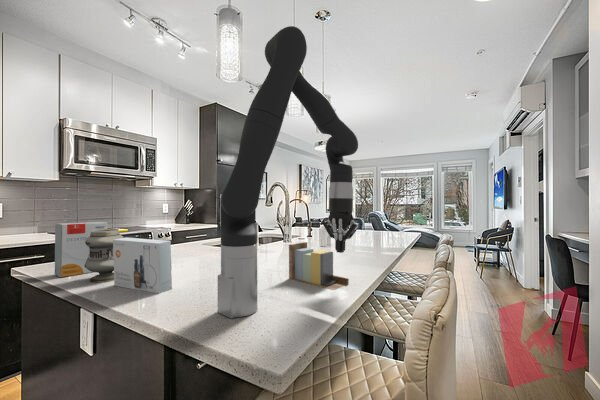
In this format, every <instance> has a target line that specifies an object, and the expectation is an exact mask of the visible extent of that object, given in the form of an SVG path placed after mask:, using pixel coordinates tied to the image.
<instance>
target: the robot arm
mask: <svg viewBox="0 0 600 400" xmlns="http://www.w3.org/2000/svg"><path fill="white" fill-rule="evenodd" d="M307 53H308V42H307V39H306V36H305V34H304V32H303V31H302V30H301V29H300V28H298V27H297V26H294V25H293V26H292V25H291V26H290V25H289V26H285V27H283V28H282V29H280V30H278V31H277V32H276V34H274V35H273V36H272V37H271V38H270V39H269V40H268V41H267V43H266V44H265V47H264V58H265V60H266V62H267V63H268V65H269V66H270V68H269V71H268V73H267V75H266V77H265V79H264V81H262V84H261V86H260V87H259V88H258V91H257V92H256V94H255V96H254V97H253V99H252V101H251V104H250V106H249V109H248V111H247V115H246V118H245V121H244V124H243V128H242V132H241V135H240V136H241V137H240V142H239V148H238V155H237V159H236V162H235V164H234V167H233V169H232V172H231V174H230V177H229V179H228V181H227V183H226V185H225V187H224V188H223V190H222V192H221V194H220V207H219V208H220V274H217V313H218V314H220V315H223V316H225V317H227V318H229V319H233V318H234V319H235V318H240V317H241V318H242V317H246V316H251V315H252V314H255V313H256V312H257V311H258V233H257V220H256V218H257V217H256V213H257V212H256V209H257V207H258V205H259V201H260V195H261V189H262V184H263V179H264V175H265V171H266V169H267V165H268V163H269V161H270V158H271V157H272V154H273V151H274V148H275V147H276V144H277V141H278V137H279V135H280V131H281V128H282V125H283V123H284V119H285V114H286V112H287V108H288V105H289V102H290V99H291V94H292V93H293V95H294V96H295V98H296V99H298V101H299V103H300V104H301V105H302V106H303V108H304V109H305V110H306V112H307V113H308V115H309V116H310V118H311V120H312V121H313V123H314V125H315V126H316V128H317V129H318V131H319V132H320V133H321V134H322V135H329V136H330V137H329V138H328V139H327V140H326V143H325V154H326V159H327V163H328V167H329V188H328V211H329V215H328V219H326V221H323V222H322V226H323V227H324V229H325V231H326V232H327V234H328V236H329V238H331V239H334V241H335V245H334V246H335V247H334V248H335V251H336V253H340V254H341V253H344V252H345V251H346V240H350V239H352V237H353V236H354V234H356V232H357V231H358V229H359V228H360V227H361V224H360V223H357V222H356V221H355V220H354V216H353V211H354V187H353V167H352V165H351V164H349V163H346V162H345V161H344V158H343V157H347V156H352V155H354V154H355V153H357V151H358V150H359V149H358V148H359V141H358V137H357V135H356V134H355V132H354V131H353V130H352V129H351V128H350V127H349V126H348V125H347V124H346V123H345V122H344V121H343V120H341V119H340V117H339V115H338V114H337V112H336V110H335V109H334V107H333V104H331V102H330V100H329V99H328V98H327V97H326V96H325V94H323V93H322V92H321V91H320V90H318V88H316V87H315V86H314V85H313V84H312V83H310V81H308V79H306V77H305V75H304V74H303V72H301V68H302V67H303V64H304V62H305V59H306V57H307Z"/></svg>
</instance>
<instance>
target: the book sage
mask: <svg viewBox="0 0 600 400" xmlns="http://www.w3.org/2000/svg"><path fill="white" fill-rule="evenodd" d="M303 281H307V282H311V252H310V253H306V254H303Z"/></svg>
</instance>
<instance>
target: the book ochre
mask: <svg viewBox="0 0 600 400" xmlns="http://www.w3.org/2000/svg"><path fill="white" fill-rule="evenodd" d="M326 252H331V251H330V250H323V249H322V250H321V249H320V250H315V251H313V252H311V283H315V284H319V285H321V278H320V254H322V253H326Z"/></svg>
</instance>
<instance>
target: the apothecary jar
mask: <svg viewBox="0 0 600 400" xmlns="http://www.w3.org/2000/svg"><path fill="white" fill-rule="evenodd" d="M120 238H125V237H124V236H123V235H122V234H120V230H119V229H118V228H107V229H101V230H93V231H91V234H90V237H88V238H87V239H86V241H85V244H86V245H87V246H89V252H90V257H89V260H88V261H87V262H86V264H85V266H86V268H87V269H88V270H89V271H92V272H91V273H97V274H96V275H94V276H92V277H90V278H89V280H88V281H89V282H91V283H92V282H94V283H107V282H112V281H113V282H114V255H113V240H114V239H120Z"/></svg>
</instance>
